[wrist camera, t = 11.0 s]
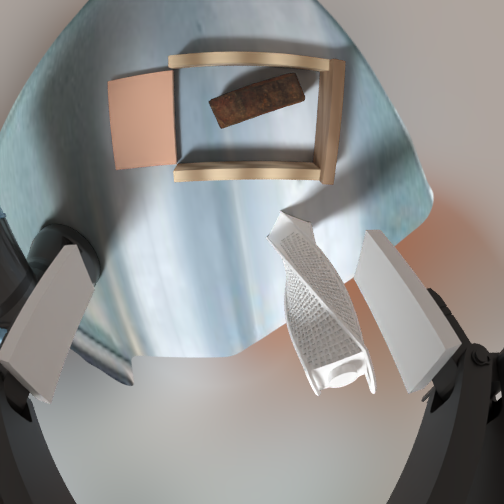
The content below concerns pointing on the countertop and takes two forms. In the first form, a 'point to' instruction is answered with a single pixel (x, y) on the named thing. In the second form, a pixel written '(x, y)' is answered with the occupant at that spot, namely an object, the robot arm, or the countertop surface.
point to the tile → (143, 120)
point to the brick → (257, 99)
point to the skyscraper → (319, 310)
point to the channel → (325, 126)
